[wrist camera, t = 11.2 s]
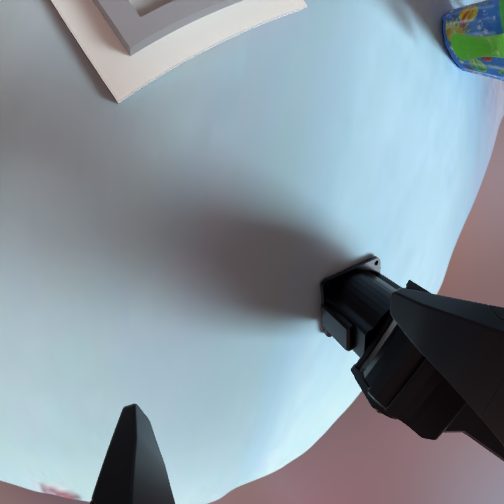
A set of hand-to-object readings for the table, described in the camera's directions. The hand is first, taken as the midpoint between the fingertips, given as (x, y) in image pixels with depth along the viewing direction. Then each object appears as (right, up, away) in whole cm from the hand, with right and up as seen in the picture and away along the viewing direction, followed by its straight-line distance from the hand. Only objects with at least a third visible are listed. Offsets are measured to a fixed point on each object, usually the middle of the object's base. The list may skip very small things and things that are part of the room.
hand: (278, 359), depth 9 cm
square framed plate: (-6, +21, +3) cm, 22 cm away
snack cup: (+22, +27, +13) cm, 37 cm away
